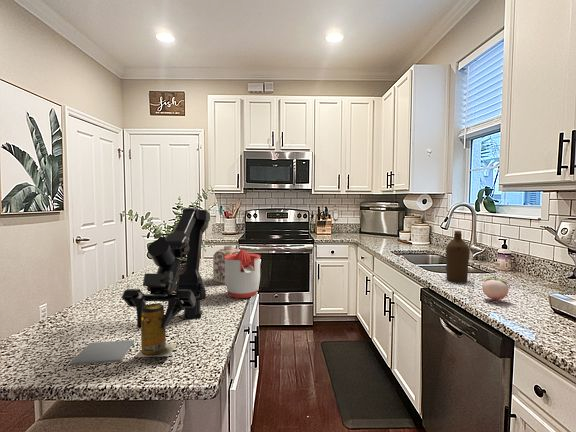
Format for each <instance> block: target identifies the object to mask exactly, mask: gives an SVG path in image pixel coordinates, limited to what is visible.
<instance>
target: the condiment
mask: <svg viewBox="0 0 576 432" xmlns="http://www.w3.org/2000/svg"><path fill="white" fill-rule="evenodd" d="M164 309H165V306H164V304H161V303H149V304H146V306H144V307H143V309H142V310H143V313H142V315H143V316H142V318H141V328H140V339H141V340H140V343H141V344H140V345H141V347H140V348H141V349H140V351H138V353H137V354H136V355H134V357H140V358H141V357H142V358H143V357H144V358H147V357H169V356H170V355H171V354H172V353H173V351H174V350H175V348H176V347H177V346H178V344H177V343H167V333H166V331H167V330H166V329H167V328H166V327H167V326H166V327H165V329H162V323H163V320H164V317H165V314H166V313H165V310H164Z"/></svg>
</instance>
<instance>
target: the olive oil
mask: <svg viewBox="0 0 576 432" xmlns="http://www.w3.org/2000/svg"><path fill="white" fill-rule="evenodd" d="M462 236H463V235H462V231H461V230H454V233H453V239H451V241H450V242H448V243H447V245H446V247H445V265H446V267H445V270H446V280H448V281H450V282H454V283H466V282H467V281H468V274H469V271H468V270H469V262H470V261H469V260H470V248H469V245H468V244H467V243H466V242H465V241H464V240H463V239H462Z"/></svg>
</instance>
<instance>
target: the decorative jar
mask: <svg viewBox="0 0 576 432" xmlns="http://www.w3.org/2000/svg"><path fill="white" fill-rule="evenodd" d="M240 250H241V249H240V248H236V247H234V245H231V244H229V245H227V244H226V245H224V246H223V248H221V249H218V250H216V251H215V253H214V254H213V256H212V257H213V259H212V260H213V261H212V262H213V263H212V265H213V266H212V268H213V270H212V271H213V274H212V275H213V276H212V277H213V278H212V279H213V282H215V283H219V284H223V285H226V282H225V258H224V256H226V255H231V254H238V252H239V251H240Z"/></svg>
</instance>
